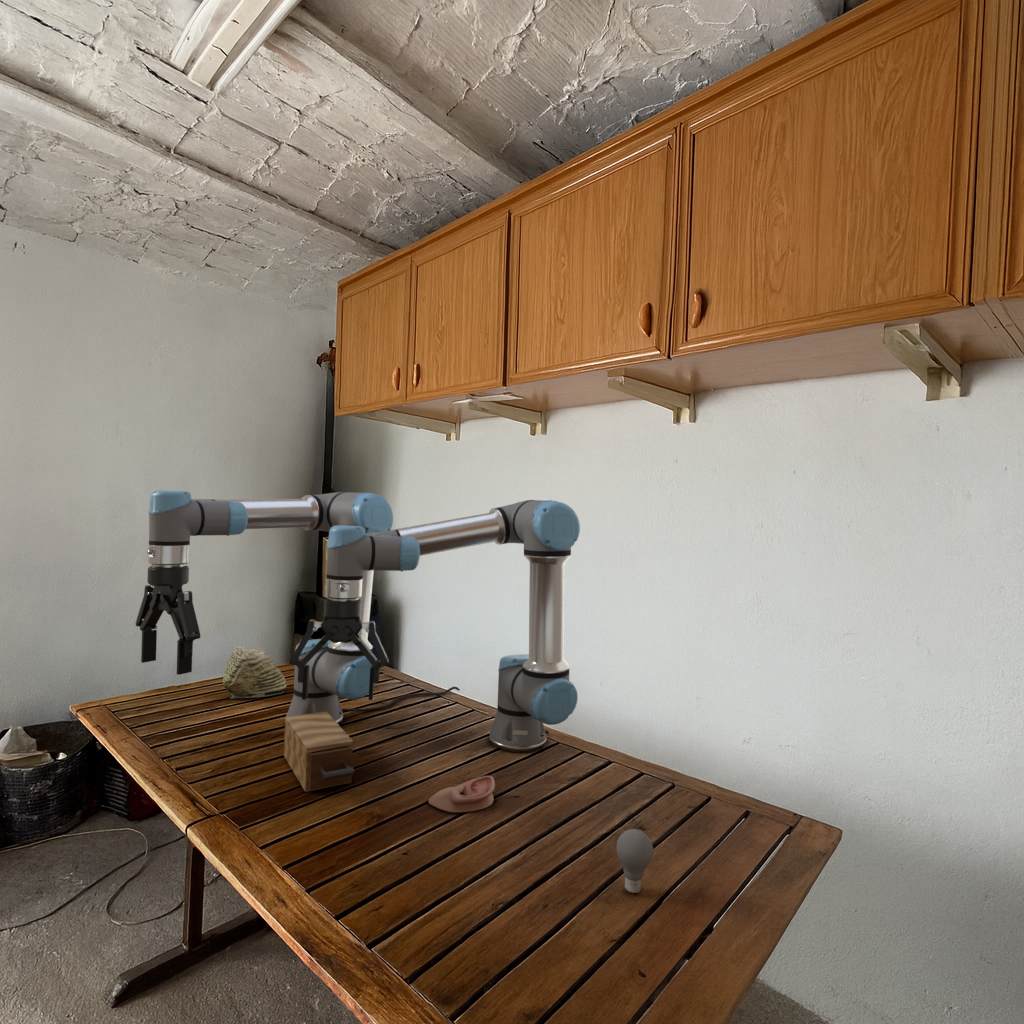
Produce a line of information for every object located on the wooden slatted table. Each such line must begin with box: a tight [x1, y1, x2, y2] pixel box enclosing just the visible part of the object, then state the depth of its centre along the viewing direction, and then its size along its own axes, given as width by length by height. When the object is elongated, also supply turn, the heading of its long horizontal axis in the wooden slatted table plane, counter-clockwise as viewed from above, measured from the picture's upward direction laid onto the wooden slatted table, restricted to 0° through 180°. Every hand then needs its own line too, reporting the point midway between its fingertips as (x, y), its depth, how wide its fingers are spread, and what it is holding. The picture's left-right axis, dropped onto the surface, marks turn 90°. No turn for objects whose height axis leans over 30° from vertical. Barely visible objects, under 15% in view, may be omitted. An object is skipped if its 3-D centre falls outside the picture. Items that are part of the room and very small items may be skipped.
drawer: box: [309, 746, 355, 791], centre depth 143 cm, size 26×9×8 cm, turn 32°
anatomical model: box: [427, 775, 496, 813], centre depth 134 cm, size 13×4×12 cm
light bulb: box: [615, 828, 654, 894], centre depth 106 cm, size 6×6×10 cm
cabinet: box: [283, 712, 354, 793], centre depth 147 cm, size 21×10×9 cm, turn 32°
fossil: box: [222, 646, 288, 699], centre depth 198 cm, size 9×18×15 cm, turn 132°
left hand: (165, 667), depth 131 cm, fingers open, 13 cm apart
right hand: (338, 698), depth 135 cm, fingers open, 13 cm apart
